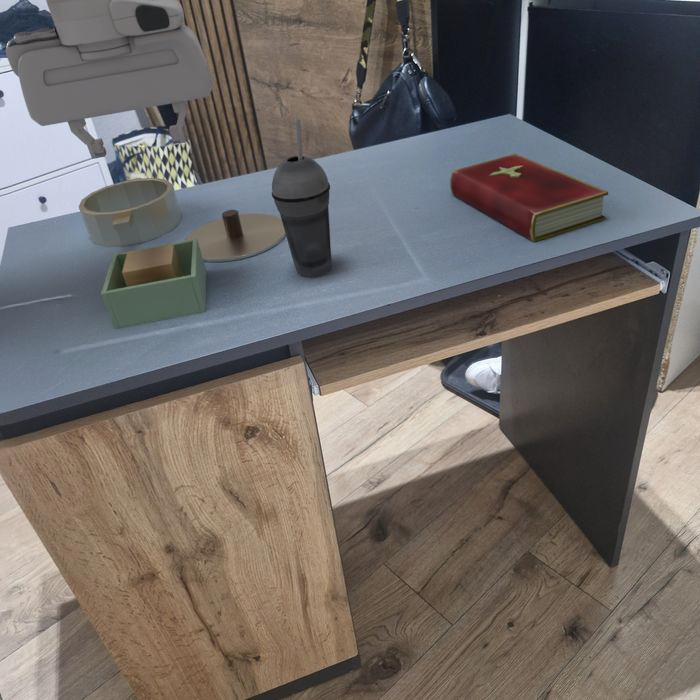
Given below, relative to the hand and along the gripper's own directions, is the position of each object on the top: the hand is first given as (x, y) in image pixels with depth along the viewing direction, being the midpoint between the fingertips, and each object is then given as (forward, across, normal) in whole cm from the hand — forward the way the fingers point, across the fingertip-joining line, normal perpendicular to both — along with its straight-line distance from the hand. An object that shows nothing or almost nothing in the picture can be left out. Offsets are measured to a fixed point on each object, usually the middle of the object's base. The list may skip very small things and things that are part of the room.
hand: (139, 149), depth 75 cm
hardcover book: (+20, +50, +6) cm, 54 cm away
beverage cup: (+19, +18, -2) cm, 26 cm away
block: (+18, -3, -3) cm, 19 cm away
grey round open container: (+19, -9, +24) cm, 32 cm away
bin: (+19, -2, -3) cm, 19 cm away
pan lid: (+18, +7, +12) cm, 23 cm away
